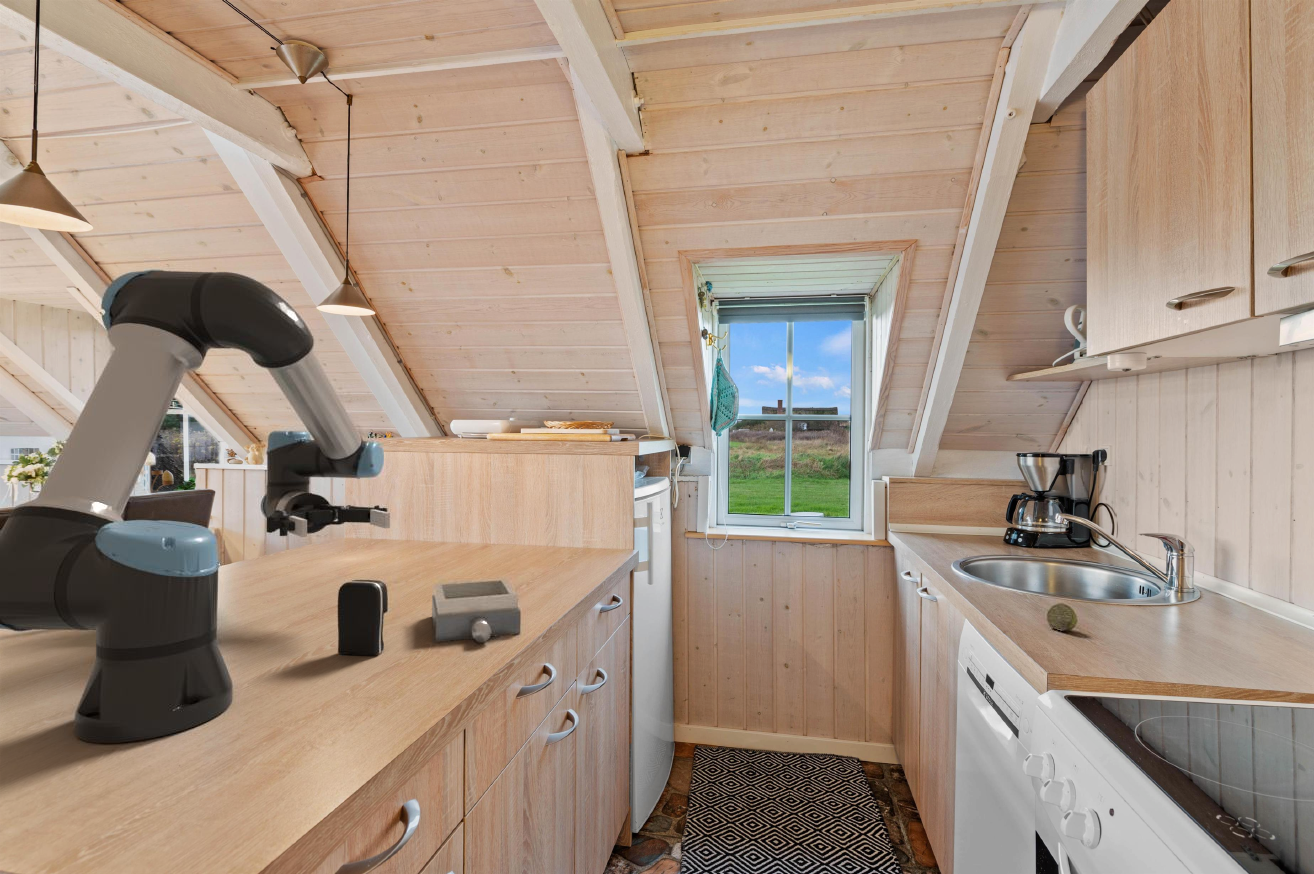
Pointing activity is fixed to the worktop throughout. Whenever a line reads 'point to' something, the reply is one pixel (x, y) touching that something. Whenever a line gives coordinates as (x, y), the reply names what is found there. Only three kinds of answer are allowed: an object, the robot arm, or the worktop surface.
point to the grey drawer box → (475, 610)
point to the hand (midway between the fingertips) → (348, 524)
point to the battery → (361, 617)
